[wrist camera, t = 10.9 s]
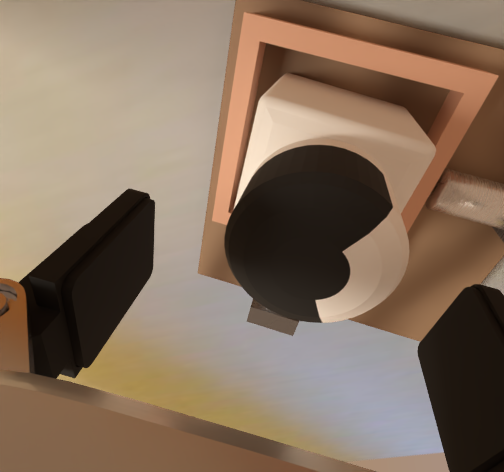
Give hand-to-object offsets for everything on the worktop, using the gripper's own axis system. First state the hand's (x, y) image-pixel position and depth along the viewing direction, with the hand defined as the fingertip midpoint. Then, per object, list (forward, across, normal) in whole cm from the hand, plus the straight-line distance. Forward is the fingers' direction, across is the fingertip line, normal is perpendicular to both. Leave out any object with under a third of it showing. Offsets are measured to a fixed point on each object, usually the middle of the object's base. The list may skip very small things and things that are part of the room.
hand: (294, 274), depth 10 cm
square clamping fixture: (+14, -4, +3) cm, 15 cm away
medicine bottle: (+13, -1, 0) cm, 13 cm away
